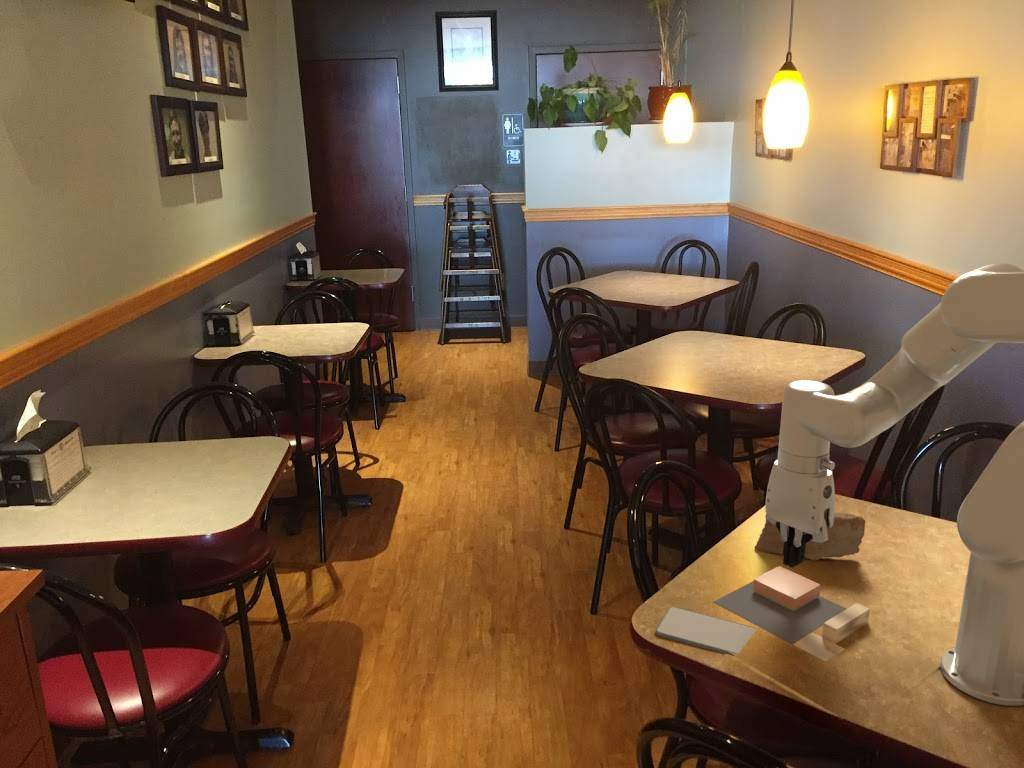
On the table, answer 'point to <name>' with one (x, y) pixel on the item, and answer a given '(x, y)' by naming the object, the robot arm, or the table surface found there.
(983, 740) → the table surface
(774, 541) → the stone
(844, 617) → the turner
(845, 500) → the table surface
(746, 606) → the mat
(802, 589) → the tile
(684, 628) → the smartphone
